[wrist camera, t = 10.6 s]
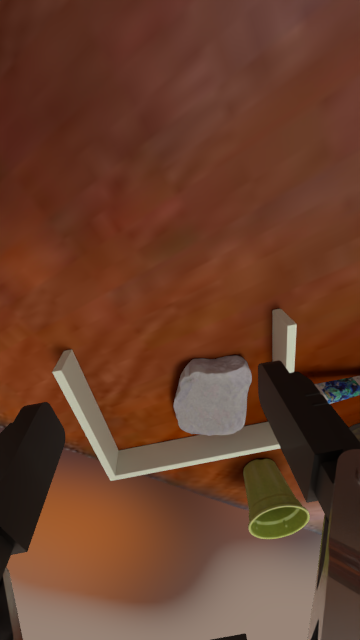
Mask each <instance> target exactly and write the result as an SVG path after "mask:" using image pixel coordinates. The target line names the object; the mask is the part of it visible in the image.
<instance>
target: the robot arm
mask: <svg viewBox="0 0 360 640" xmlns="http://www.w3.org/2000/svg"><path fill="white" fill-rule="evenodd" d="M258 390H259V399H260V403H261V407H262V409H263V411H264V414H265V416H266V418H267V420H268V422H269V424H270V426H271V428H272V430H273V432H274V435H275V437H276V439H277V441H278V443H279V445H280V447H281V449H282V451H283V454H284V456H285V458H286V460H287V462H288V464H289V466H290V468H291V470H292V473H293V475H294V477H295V479H296V481H297V483H298V485H299V487H300V489H301V492H302V494H303V496H304V498H305V500H306V502H313V501H319V503H320V505H321V507H322V509H323V511H324V513H325V516H324V523H323V531H322V539H321V547H320V555H319V563H318V571H317V578H316V586H315V593H314V601H313V605H312V612H311V618H310V625H309V632H308V640H360V442H359V440H358V439H357V438H356V436H355V435H354V434H353V433H352V431H351V430H350V429H349V428H348V426H347V425H346V424H345V423H344V421H343V420H342V419H341V417H340V416H339V415H338V414H337V412H336V411H335V410H334V409H333V407H332V406H331V405H330V404H328V401H327V400H326V399H325V397H324V396H323V395H322V394H321V393H320V391H319V390H318V388H317V387H316V386H315V385H314V383H313V382H312V381H311V380H310V379H308V378H307V377H305V376H304V375H302V374H301V373H299V372H292V373H289V372H288V370H287V369H286V367H285V366H284V364H283V363H282V362H281V361H280V360H277V361H272V362H266V363H261V364H259V366H258ZM64 444H65V431H64V428H63V426H62V425H61V423H60V421H59V419H58V418H57V416H56V414H55V412H54V411H53V409H52V407H51V406H50V404H49V403H47V402H44V403H38V404H33V405H27V406H24V407H23V408H22V409H21V410H20V412H19V414H18V415H17V417H16V419H15V420H14V422H13V423H10V424H9V425H8V426H7V427H6V428H5V429H4V430H3V431H2V432H1V433H0V640H23V638H22V633H21V629H20V623H19V619H18V613H17V608H16V603H15V598H14V593H13V589H12V583H11V578H10V573H9V570H8V569H7V568H6V566H7V563H8V560H9V558H10V556H11V555H13V554H18V553H23V552H27V551H28V548H29V545H30V542H31V539H32V536H33V534H34V531H35V528H36V525H37V522H38V519H39V516H40V513H41V510H42V508H43V505H44V502H45V499H46V496H47V493H48V490H49V488H50V484H51V482H52V479H53V476H54V473H55V470H56V467H57V465H58V461H59V459H60V456H61V453H62V450H63V447H64ZM212 640H247V638H246V634H240V635H235V636H229V637H223V638H219V639H212Z"/></svg>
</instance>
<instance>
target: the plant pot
mask: <svg viewBox="0 0 360 640" xmlns="http://www.w3.org/2000/svg"><path fill="white" fill-rule="evenodd" d="M243 476H244V482H245V487H246V493H247V499H248V506H249V520H250V522H249V524H248V529H249V532H250V533H251V534H252V535H253V536H255V537H258V538H262V539H275V538H281V537H285V536H288V535H291V534H293V533H295V532H297V531H299V530H300V529H302V528H303V527H304V526H305V525H306V524H307V523H308V521H309V517H310V516H309V512H308V511H307V509H306V508H304V507H303V506H302V505H301V503H300V502H299V501H298V500H297V499H296V498H295V496H294V494H293V493H292V491H291V489H290V488H289V486H288V484H287V482H286V481H285V479H284V477H283V476H282V474H281V472H280V471H279V469H278V467H277V465H276V464H275V462H274V461H272V460H270V459H266V458H265V459H264V460H258V459H256V460H253V461H251V462H249V463H248V464H247V465H246V466H245V467H244V471H243Z"/></svg>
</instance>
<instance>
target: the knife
mask: <svg viewBox="0 0 360 640" xmlns="http://www.w3.org/2000/svg"><path fill="white" fill-rule="evenodd" d="M314 385H315V386H316V387H317V388H318V390H319V391H320V393H321V394H322V395H323V396H324V397H325V399H326V400H327V401H328V404H331V403H334V402H338V401H341V400H345V399H348V398H352V397H355V396H358V395H360V376H356V377H351V378H345V379H340V380H335V381H329V382H324V383H319V384H314Z"/></svg>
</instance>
